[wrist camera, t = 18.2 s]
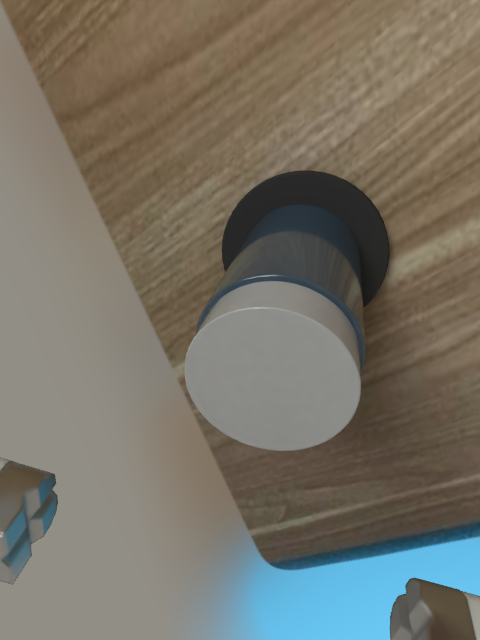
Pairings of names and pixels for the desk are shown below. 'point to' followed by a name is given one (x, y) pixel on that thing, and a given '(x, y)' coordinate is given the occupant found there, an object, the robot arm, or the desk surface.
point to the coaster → (325, 195)
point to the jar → (283, 334)
